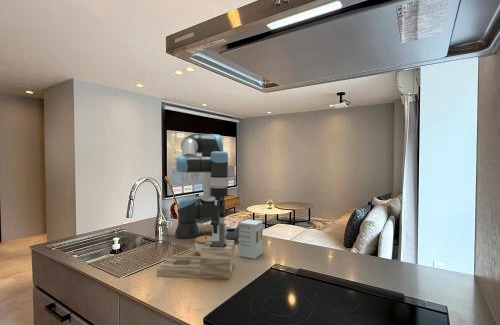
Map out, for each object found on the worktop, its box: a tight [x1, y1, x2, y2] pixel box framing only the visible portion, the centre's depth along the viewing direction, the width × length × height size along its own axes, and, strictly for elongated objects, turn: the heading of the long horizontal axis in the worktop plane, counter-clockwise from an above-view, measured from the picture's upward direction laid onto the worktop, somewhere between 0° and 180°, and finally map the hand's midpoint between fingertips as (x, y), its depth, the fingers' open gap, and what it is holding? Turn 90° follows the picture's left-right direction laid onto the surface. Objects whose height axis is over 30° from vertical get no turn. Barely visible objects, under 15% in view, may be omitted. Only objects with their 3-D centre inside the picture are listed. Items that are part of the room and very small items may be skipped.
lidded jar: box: [194, 235, 212, 256], centre depth 131 cm, size 11×11×9 cm
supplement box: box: [238, 219, 264, 260], centre depth 130 cm, size 10×9×17 cm
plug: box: [212, 219, 228, 248], centre depth 111 cm, size 4×6×14 cm
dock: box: [156, 239, 235, 280], centre depth 112 cm, size 15×30×11 cm, turn 87°
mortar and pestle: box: [225, 221, 241, 245], centre depth 150 cm, size 11×9×12 cm
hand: (218, 236), depth 111 cm, fingers open, 13 cm apart
